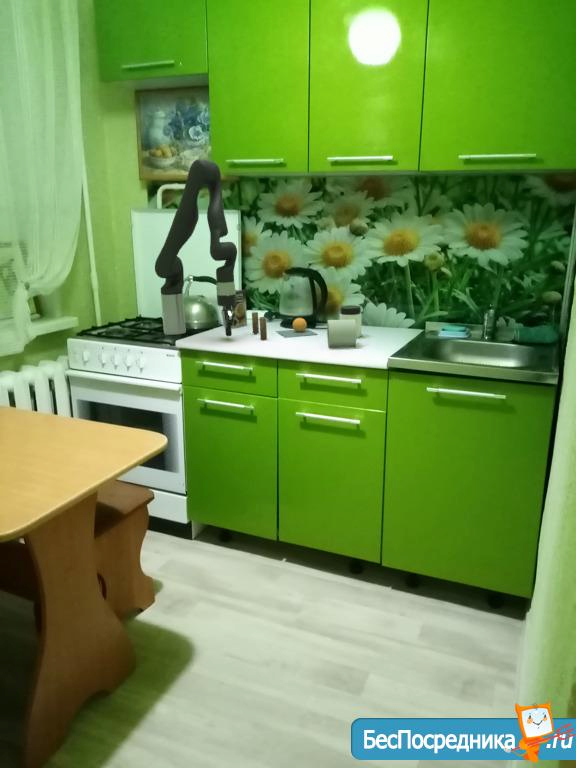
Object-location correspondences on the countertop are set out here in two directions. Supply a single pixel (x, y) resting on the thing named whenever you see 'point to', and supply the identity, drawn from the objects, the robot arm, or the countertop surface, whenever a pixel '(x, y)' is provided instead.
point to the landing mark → (296, 333)
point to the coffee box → (239, 309)
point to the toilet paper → (341, 333)
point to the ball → (299, 325)
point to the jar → (352, 316)
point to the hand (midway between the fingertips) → (228, 335)
